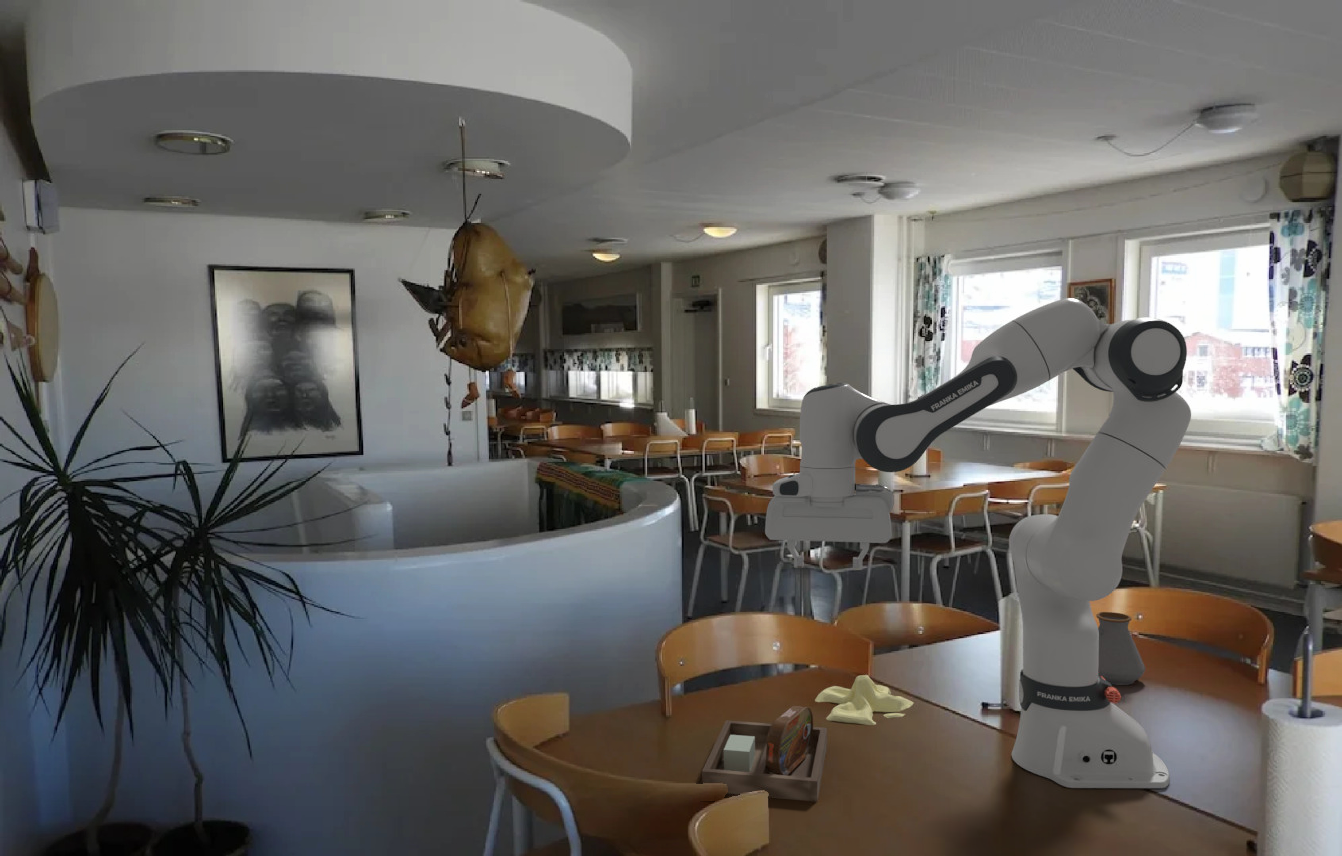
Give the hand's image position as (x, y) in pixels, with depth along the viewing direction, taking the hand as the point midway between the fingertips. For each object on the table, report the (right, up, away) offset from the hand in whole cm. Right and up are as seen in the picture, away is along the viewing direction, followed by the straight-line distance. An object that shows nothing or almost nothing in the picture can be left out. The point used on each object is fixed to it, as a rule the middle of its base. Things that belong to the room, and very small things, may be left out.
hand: (828, 568), depth 148 cm
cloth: (+12, -30, +24) cm, 40 cm away
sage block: (-15, -31, -4) cm, 34 cm away
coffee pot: (+59, -28, +34) cm, 74 cm away
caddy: (-10, -32, -5) cm, 34 cm away
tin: (-7, -30, -5) cm, 32 cm away
